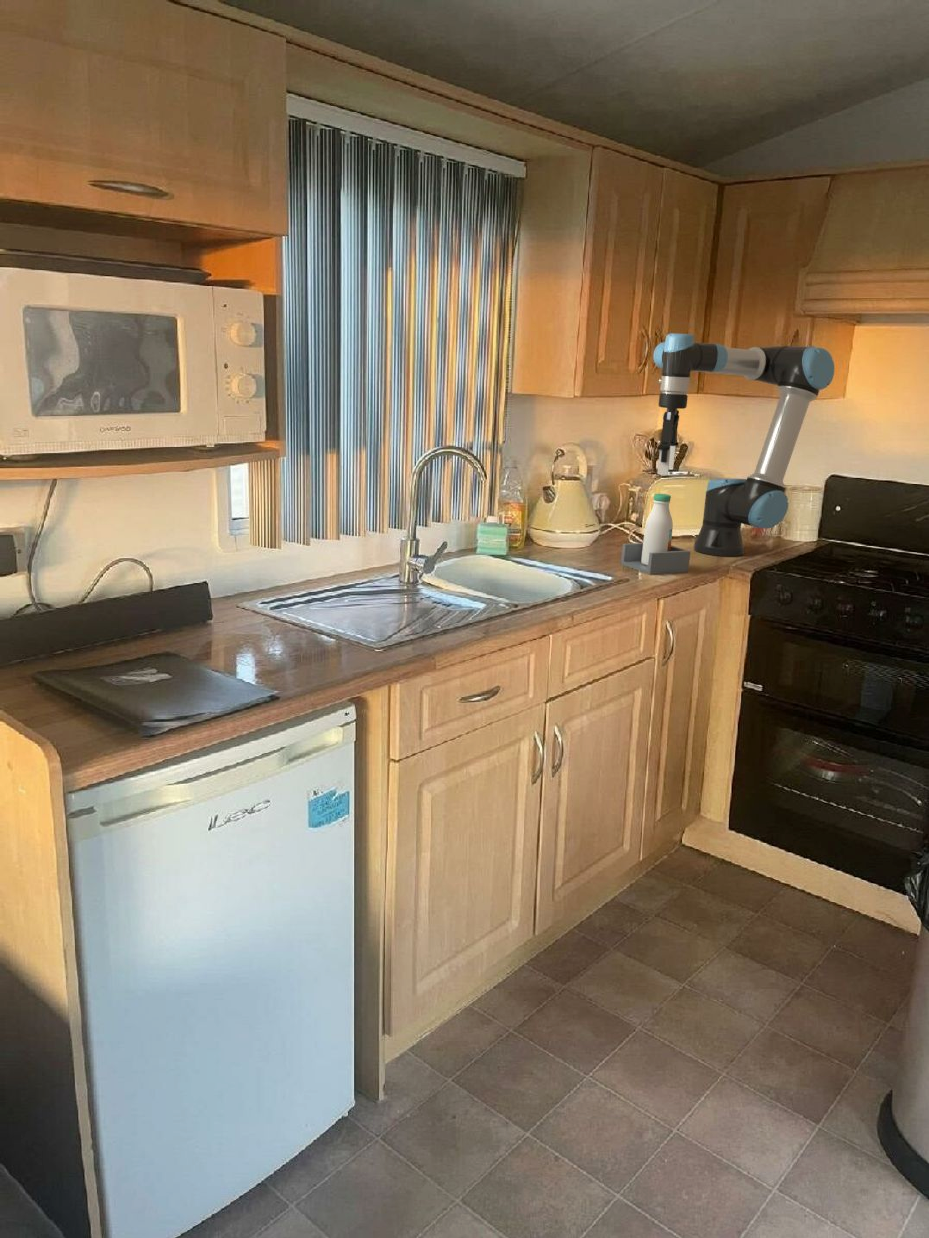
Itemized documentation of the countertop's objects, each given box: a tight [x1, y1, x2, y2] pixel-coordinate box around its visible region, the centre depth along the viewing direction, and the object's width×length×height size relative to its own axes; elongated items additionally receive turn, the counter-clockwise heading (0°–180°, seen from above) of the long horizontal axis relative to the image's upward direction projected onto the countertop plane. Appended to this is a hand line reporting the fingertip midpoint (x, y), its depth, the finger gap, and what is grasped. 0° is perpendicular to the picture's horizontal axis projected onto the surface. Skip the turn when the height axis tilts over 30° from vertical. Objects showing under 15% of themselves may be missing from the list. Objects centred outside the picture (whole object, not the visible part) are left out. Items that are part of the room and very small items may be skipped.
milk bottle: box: [641, 493, 673, 566], centre depth 271 cm, size 8×8×20 cm
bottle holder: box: [620, 542, 691, 575], centre depth 273 cm, size 13×13×6 cm
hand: (665, 471), depth 267 cm, fingers open, 13 cm apart
